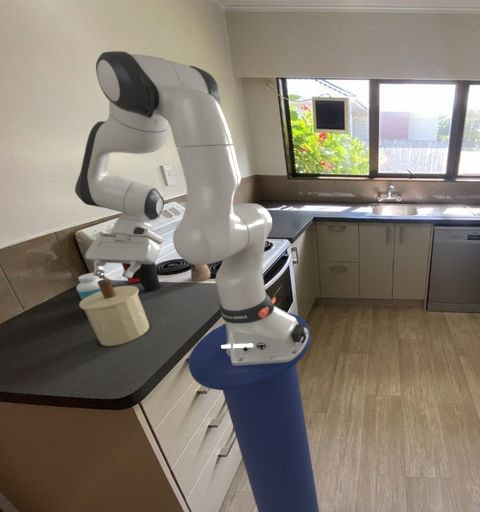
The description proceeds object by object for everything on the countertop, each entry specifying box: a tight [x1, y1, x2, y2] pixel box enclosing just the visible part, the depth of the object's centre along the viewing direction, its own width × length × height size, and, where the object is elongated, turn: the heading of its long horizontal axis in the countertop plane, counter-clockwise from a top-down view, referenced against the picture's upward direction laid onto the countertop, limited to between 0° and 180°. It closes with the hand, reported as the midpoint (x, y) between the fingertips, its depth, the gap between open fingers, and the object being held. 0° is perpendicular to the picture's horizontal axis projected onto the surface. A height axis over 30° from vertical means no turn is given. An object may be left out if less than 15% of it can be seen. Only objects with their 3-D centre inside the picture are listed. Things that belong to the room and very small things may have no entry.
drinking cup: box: [136, 261, 161, 293], centre depth 110 cm, size 8×8×20 cm
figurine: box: [188, 263, 212, 283], centre depth 121 cm, size 7×7×12 cm
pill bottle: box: [76, 272, 104, 301], centre depth 97 cm, size 8×7×14 cm
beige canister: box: [84, 293, 150, 347], centre depth 85 cm, size 12×12×12 cm
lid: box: [78, 278, 140, 311], centre depth 82 cm, size 13×13×6 cm
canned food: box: [121, 263, 141, 285], centre depth 120 cm, size 8×8×11 cm
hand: (111, 276), depth 83 cm, fingers open, 8 cm apart
